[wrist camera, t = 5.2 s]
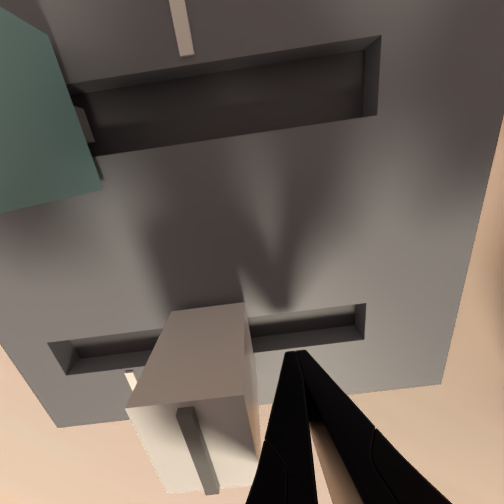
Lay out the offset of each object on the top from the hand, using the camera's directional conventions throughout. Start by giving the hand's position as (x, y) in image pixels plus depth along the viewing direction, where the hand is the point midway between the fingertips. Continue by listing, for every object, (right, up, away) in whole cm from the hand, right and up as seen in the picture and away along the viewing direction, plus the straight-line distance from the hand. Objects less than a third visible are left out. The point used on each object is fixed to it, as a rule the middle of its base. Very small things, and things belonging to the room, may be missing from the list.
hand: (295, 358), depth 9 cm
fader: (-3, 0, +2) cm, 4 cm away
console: (-3, +5, +2) cm, 6 cm away
